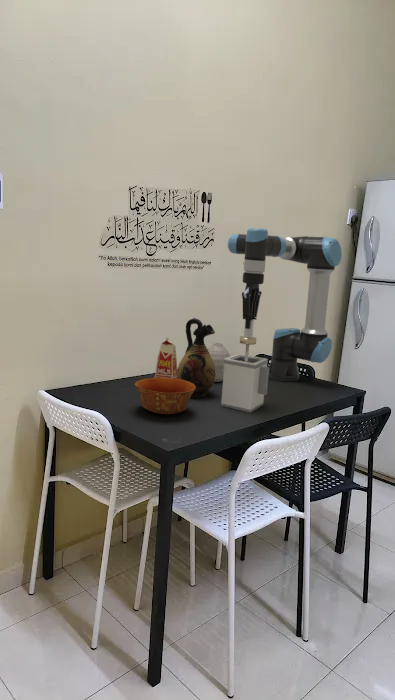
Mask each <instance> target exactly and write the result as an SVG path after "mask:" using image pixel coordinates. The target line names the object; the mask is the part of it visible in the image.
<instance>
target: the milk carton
mask: <svg viewBox="0 0 395 700" xmlns="http://www.w3.org/2000/svg"><path fill="white" fill-rule="evenodd" d="M165 339H166V340H165V341H163V342H161V343H160V348H159V352H158V355H157V359H156V369H155V372H154V373H155V374H154V377H153V378H173V379H177V370H178V360H177V349H176V345H175V344H174V343H173V342H172V341H171V339H170V338H169V337H166V338H165Z"/></svg>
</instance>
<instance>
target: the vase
mask: <svg viewBox="0 0 395 700" xmlns="http://www.w3.org/2000/svg"><path fill="white" fill-rule="evenodd" d="M207 349H208V351H209V353H210V355H211V358H212V360H213V362H214V366H215V374H216V376H215V382H214V383H217V382H218V383H219V382H223V376H224V360H225V359H226V358H229V357H231V354H230V352H229V350H228V349H227V348H226V347H225V346H224V345H223V343H222V342H219V341H218V342H217V341H214V342H213V343H212V345H210V346H209V347H208V348H207Z"/></svg>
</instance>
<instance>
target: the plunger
mask: <svg viewBox="0 0 395 700" xmlns="http://www.w3.org/2000/svg"><path fill="white" fill-rule="evenodd" d="M239 343H240V344H242V345H245V351H244V353H245V354H244V355H245V362H248V356H249V351H250V345H256V344H257V337H255V336H252V338H249V337H244V335H242V336H240V337H239Z"/></svg>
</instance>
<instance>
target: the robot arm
mask: <svg viewBox="0 0 395 700" xmlns="http://www.w3.org/2000/svg"><path fill="white" fill-rule="evenodd" d="M227 242H228V243H227V248H228V251H229V252H230V253H232V254H236V255H244V262H243V263H242V264H243V271H244V272H242V273H243V274H242V283H243V284H246V285H245V289H244V291H242V292H241V298H242V319H243V320H245V321H244V330H243V332H244V333H243V336H244V337H249V338H252V337H253V333H254V323H255V321H257V317H258V311H259V305H260V300H261V296H262V291H260V285H263V284H264V281H265V280H264V279H265V274H264V273H265V271H266V270H265V269H266V257H272V258H276V257H277V258H279V259H282V260H285V261H291V262H294V263H300V264H304V265H305V264H306V270H307V271H308V272H309V279H308V289H307V290H308V291H307V301H306V310H305V311H306V312H305V323H304V327H303V328H302V329H299V328H279V329H275V331H274V333H273V337H272V339H273V341H272V352H271V361H270V363H269V365H268V366H267V368H269V376H268V379H271V380H274V381H280V382H297V381H299V380H300V371H299V367H298V366H299V365H298V359H299V360H303V361H308V362H311V363H317V364H320V363H323V362H325V361H326V360H327V359H328V357H329V356H330V354H331V351H332V348H333V342H332V339H331V338H330V337H329V336H328V334H329V332H328V331H327V330H326V321H327V320H326V319H327V310H328V302H329V301H328V299H329V292H330V282H331V281H330V280H331V274H332V273H333V272H334V271H335V267H338V266H339V265H340V264H341V261H342V247H341V244H340V242H339V240H338V239H336V238H334V237H328V236H308V235H307V236H304V235H303V236H294V237H293V236H292V237H291V236H290V237H289V236H287V237H286V236H285V237H281V236H279V235H269V231H268V229H267V228H256V227H250V228H248V229H247V231H246V233H235V234H232V235H230V237H229V238H228V241H227Z"/></svg>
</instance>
